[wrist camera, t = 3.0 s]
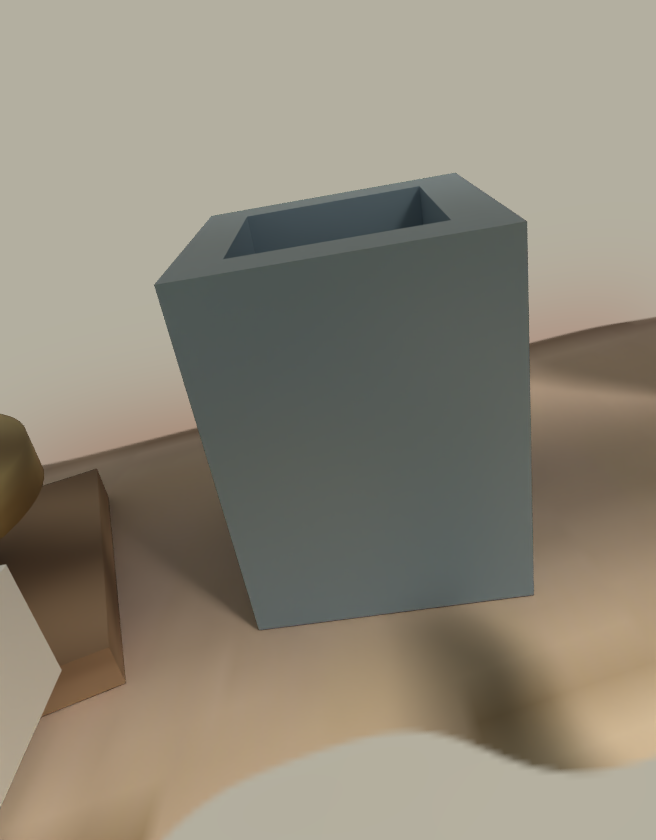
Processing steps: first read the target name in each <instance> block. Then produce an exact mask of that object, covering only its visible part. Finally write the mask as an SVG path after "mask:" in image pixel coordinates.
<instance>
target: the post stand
mask: <svg viewBox="0 0 656 840" xmlns="http://www.w3.org/2000/svg"><path fill="white" fill-rule="evenodd" d="M43 481H44V470H43V467H42V465H41V463H40V460H39V458H38V456H37V454H36V452H35V449H34V447H33V445H32V443H31V441H30V438H29V436H28V434H27V432H26V429H25V427H24V426H23V425H22V424H21V422H20V421H18V420H16V419H15V418H13V417H10V416H7V415H3V414H0V565H5V564H6V565H7V567H8V569H9V571H10V573H11V575H12V577H13V578H14V580H15V582H16V584H17V586H18V588H19V590H20V592H21V594H22V596H23V597H24V599H25V601H26V603H27V605H28V607H29V609H30V611H31V613H32V615H33V616H34V618H35V620H36V622H37V624H38V626H39V628H40V630H41V632H42V634H43V635H44V637H45V639H46V641H47V643H48V645H49V647H50V649H51V651H52V653H53V654H54V656H55V658H56V660H57V662H58V664H59V666H60V668H61V670H62V671H61V673H60V675H59V677H58V680H57V682H56V684H55V686H54V689H53V691H52V693H51V695H50V698H49V700H48V702H47V704H46V707H45V709H44V711H43V713H42V716H44V715H47V714H49V713H52V712H54V711H57V710H59V709H62V708H64V707H67V706H69V705H72V704H74V703H77V702H79V701H82V700H84V699H87V698H89V697H92V696H94V695H97V694H99V693H102V692H104V691H107V690H109V689H112V688H114V687H117V686H119V685H122V684H124V683H126V681H125V670H124V659H123V649H122V638H121V627H120V617H119V606H118V595H117V585H116V574H115V563H114V552H113V542H112V531H111V520H110V510H109V499H108V495H107V492H106V490H105V488H104V485H103V483H102V480H101V478H100V475H99V473H98V470H97V469H94V470H91V471H88V472H85V473H82V474H79V475H75V476H72V477H69V478H66V479H63V480H60V481H56V482H53V483H50V484H47V485H44V486H42V485H43ZM42 716H41V717H42Z"/></svg>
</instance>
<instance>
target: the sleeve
mask: <svg viewBox="0 0 656 840" xmlns="http://www.w3.org/2000/svg"><path fill="white" fill-rule="evenodd" d="M527 250H528V248H527V221H526V220H524V219H523V218H521V217H520V216H518V215H517V214H516V213H514V212H512V211H511V210H509V209H508V208H507V207H505V206H504V205H502V204H501V203H499V202H498V201H496V200H495V199H493V198H492V197H490V196H489V195H487V194H486V193H484V192H483V191H481V190H480V189H479V188H477V187H476V186H474V185H473V184H471V183H470V182H468V181H467V180H465V179H464V178H462V177H461V176H459V175H458V174H457V173H452V174H446V175H440V176H435V177H429V178H423V179H418V180H412V181H406V182H401V183H395V184H389V185H384V186H378V187H372V188H367V189H361V190H356V191H350V192H344V193H339V194H333V195H327V196H322V197H316V198H311V199H305V200H299V201H294V202H288V203H282V204H277V205H271V206H266V207H260V208H254V209H248V210H243V211H237V212H232V213H226V214H220V215H215V216H211V217H210V219H209V220H208V221H207V222H206V223H205V225H204V226H203V227H202V228H201V229H200V231H199V232H198V233H197V234H196V235H195V237H194V238H193V239H192V240H191V241H190V243H189V244H188V245H187V246H186V248H185V249H184V250H183V251H182V252H181V253H180V255H179V256H178V257H177V258H176V259H175V261H174V262H173V263H172V264H171V265H170V267H169V268H168V269H167V270H166V271H165V273H164V274H163V275H162V276H161V277H160V279H159V280H158V281H157V282H156V283H155V285H154V286H155V289H156V293H157V295H158V299H159V302H160V306H161V309H162V312H163V316H164V319H165V322H166V325H167V329H168V332H169V335H170V339H171V342H172V345H173V349H174V352H175V355H176V358H177V362H178V365H179V368H180V371H181V375H182V378H183V381H184V385H185V388H186V391H187V394H188V398H189V401H190V404H191V408H192V411H193V414H194V418H195V421H196V424H197V428H198V431H199V434H200V437H201V441H202V444H203V447H204V451H205V454H206V457H207V460H208V464H209V467H210V470H211V474H212V477H213V480H214V483H215V487H216V490H217V493H218V497H219V500H220V503H221V507H222V510H223V513H224V516H225V520H226V523H227V526H228V530H229V533H230V536H231V539H232V543H233V546H234V549H235V553H236V556H237V559H238V563H239V566H240V569H241V572H242V576H243V579H244V582H245V586H246V589H247V592H248V595H249V599H250V602H251V605H252V609H253V612H254V615H255V618H256V622H257V625H258V628H259V630H264V629H271V628H279V627H287V626H295V625H303V624H311V623H318V622H326V621H334V620H342V619H350V618H357V617H365V616H373V615H381V614H389V613H396V612H404V611H412V610H420V609H428V608H435V607H443V606H451V605H459V604H467V603H474V602H482V601H490V600H498V599H506V598H513V597H521V596H529V595H534V583H533V527H532V471H531V415H530V359H529V304H528V251H527Z"/></svg>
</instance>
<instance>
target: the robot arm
mask: <svg viewBox="0 0 656 840" xmlns="http://www.w3.org/2000/svg"><path fill="white" fill-rule="evenodd" d="M61 671H62V670H61V668H60V666H59V664H58V662H57V660H56V658H55V656H54V654H53V653H52V651H51V649H50V647H49V645H48V643H47V641H46V639H45V637H44V635H43V634H42V632H41V630H40V628H39V626H38V624H37V622H36V620H35V618H34V616H33V615H32V613H31V611H30V609H29V607H28V605H27V603H26V601H25V599H24V597H23V596H22V594H21V592H20V590H19V588H18V586H17V584H16V582H15V580H14V578H13V577H12V575H11V573H10V571H9V569H8V567H7V565H6V564H5V565H0V808H1V805H2V803H3V801H4V799H5V796H6V794H7V792H8V790H9V787H10V785H11V783H12V781H13V778H14V776H15V774H16V772H17V769H18V767H19V765H20V763H21V760H22V758H23V756H24V754H25V752H26V749H27V747H28V745H29V743H30V740H31V738H32V736H33V734H34V731H35V729H36V727H37V725H38V722H39V720H40V718H41V716H42V713H43V711H44V709H45V707H46V704H47V702H48V700H49V698H50V695H51V693H52V691H53V689H54V686H55V684H56V682H57V680H58V677H59V675H60V673H61Z"/></svg>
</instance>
